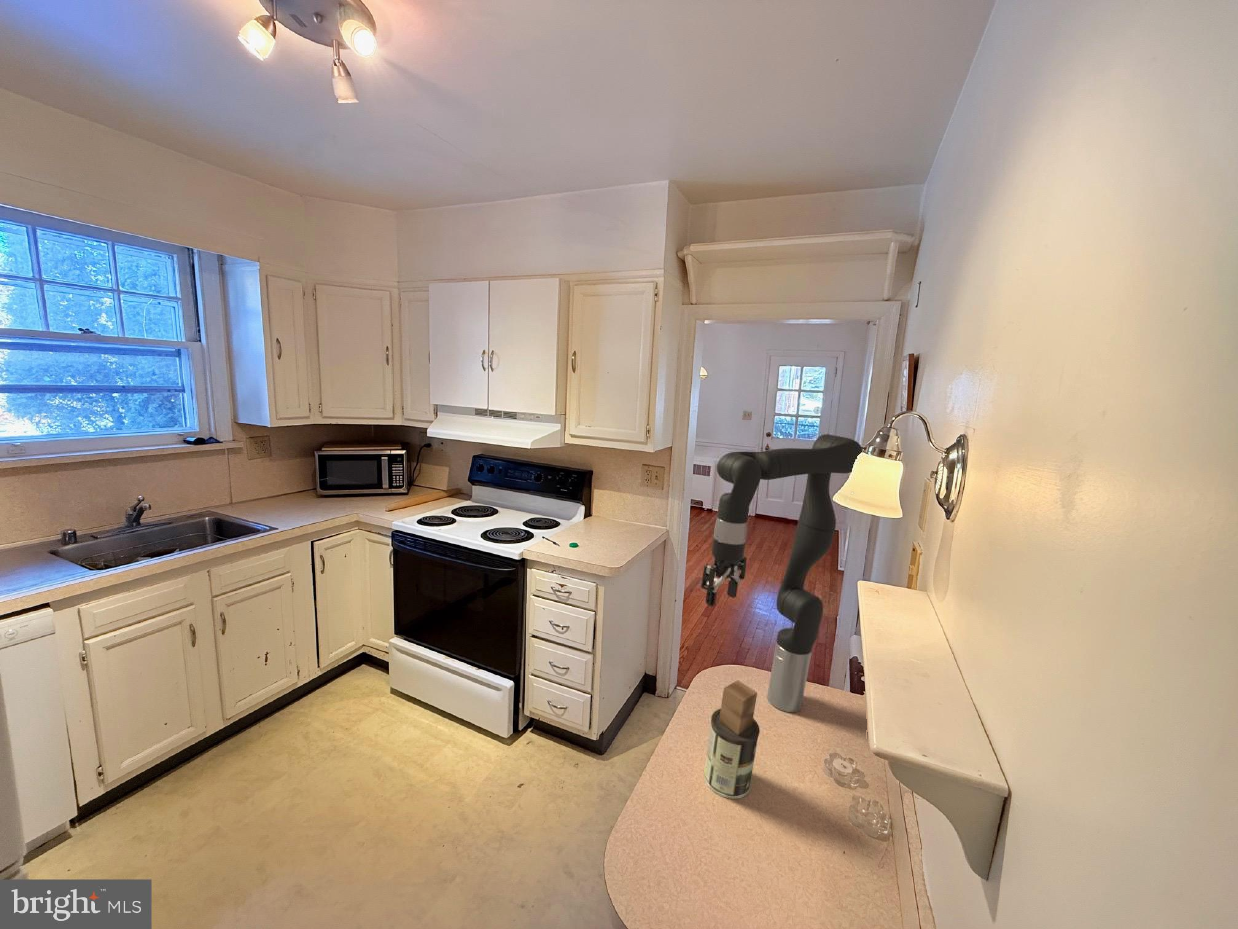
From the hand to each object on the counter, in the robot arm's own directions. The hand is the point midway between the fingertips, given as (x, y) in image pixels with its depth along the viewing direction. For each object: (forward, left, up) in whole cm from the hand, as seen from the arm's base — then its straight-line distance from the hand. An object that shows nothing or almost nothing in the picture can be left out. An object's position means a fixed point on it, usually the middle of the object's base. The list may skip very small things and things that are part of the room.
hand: (720, 600), depth 119 cm
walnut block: (+10, +14, -20) cm, 26 cm away
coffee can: (+10, +14, -34) cm, 38 cm away
